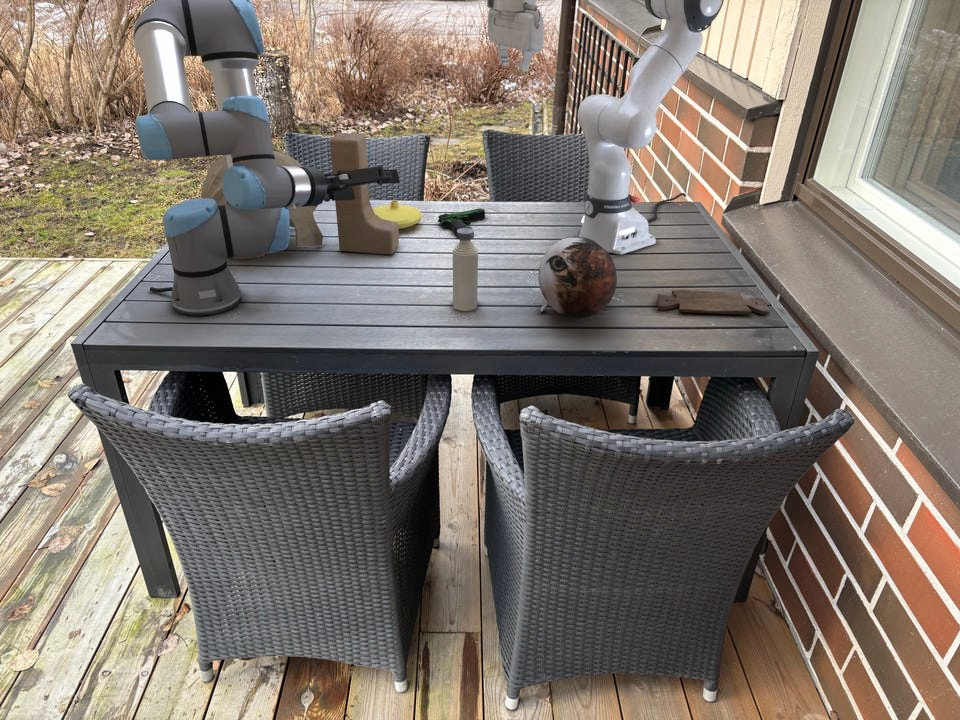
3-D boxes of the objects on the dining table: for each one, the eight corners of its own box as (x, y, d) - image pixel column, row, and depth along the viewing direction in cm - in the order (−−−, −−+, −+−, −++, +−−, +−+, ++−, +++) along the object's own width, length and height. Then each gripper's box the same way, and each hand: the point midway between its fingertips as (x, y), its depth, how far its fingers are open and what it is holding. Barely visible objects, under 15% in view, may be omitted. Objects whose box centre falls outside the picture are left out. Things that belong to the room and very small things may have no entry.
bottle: (477, 311, 164) (478, 237, 155) (452, 311, 164) (451, 236, 155) (477, 300, 169) (478, 228, 160) (453, 300, 169) (452, 227, 160)
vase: (376, 214, 219) (375, 191, 216) (426, 217, 218) (426, 194, 214) (362, 232, 206) (360, 208, 202) (415, 235, 204) (415, 212, 201)
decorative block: (393, 255, 191) (387, 142, 176) (339, 251, 193) (328, 139, 178) (399, 245, 198) (394, 134, 183) (347, 241, 200) (337, 132, 184)
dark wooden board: (652, 295, 173) (658, 314, 165) (653, 289, 172) (659, 307, 164) (760, 298, 172) (772, 317, 163) (761, 291, 171) (774, 310, 162)
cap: (473, 240, 156) (473, 234, 156) (456, 240, 156) (456, 233, 156) (474, 234, 160) (474, 227, 159) (457, 234, 160) (456, 227, 159)
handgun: (453, 229, 202) (431, 211, 213) (453, 239, 203) (431, 221, 214) (503, 222, 208) (480, 205, 219) (502, 231, 210) (479, 214, 221)
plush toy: (515, 268, 172) (574, 208, 164) (568, 314, 177) (628, 258, 168) (511, 307, 153) (577, 241, 144) (571, 357, 157) (638, 296, 149)
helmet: (337, 253, 194) (330, 140, 179) (228, 274, 179) (210, 153, 164) (298, 224, 213) (288, 120, 198) (196, 241, 198) (178, 130, 183)
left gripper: (264, 221, 146) (339, 216, 163) (348, 188, 131) (421, 186, 148) (255, 185, 145) (331, 183, 162) (338, 148, 130) (412, 150, 147)
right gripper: (553, 5, 152) (549, 74, 159) (507, -2, 167) (505, 61, 174) (527, 5, 149) (524, 76, 156) (483, -2, 165) (482, 62, 172)
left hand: (374, 185), depth 155 cm, fingers open, 13 cm apart
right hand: (513, 68), depth 165 cm, fingers open, 8 cm apart
